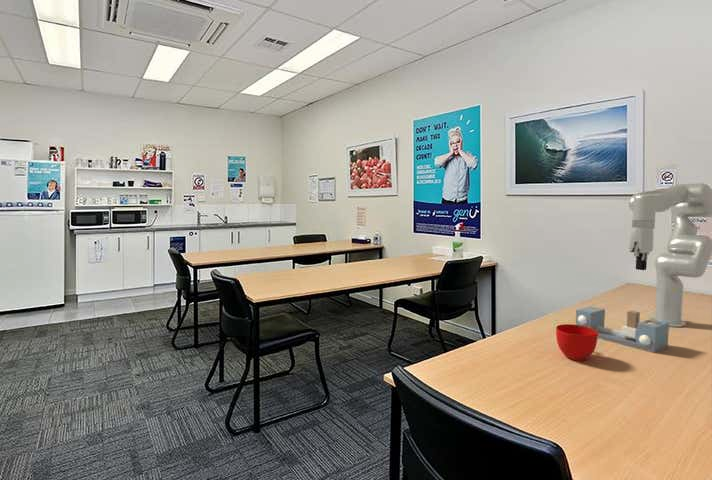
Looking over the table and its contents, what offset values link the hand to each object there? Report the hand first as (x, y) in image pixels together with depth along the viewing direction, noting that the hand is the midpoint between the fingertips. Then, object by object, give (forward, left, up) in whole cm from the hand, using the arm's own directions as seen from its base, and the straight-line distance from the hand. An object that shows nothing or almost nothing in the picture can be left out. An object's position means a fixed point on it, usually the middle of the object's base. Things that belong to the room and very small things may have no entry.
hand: (640, 269), depth 165 cm
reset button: (+13, +10, -21) cm, 27 cm away
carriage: (+13, +4, -25) cm, 28 cm away
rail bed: (+13, -1, -27) cm, 30 cm away
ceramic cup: (+45, -1, -27) cm, 52 cm away
